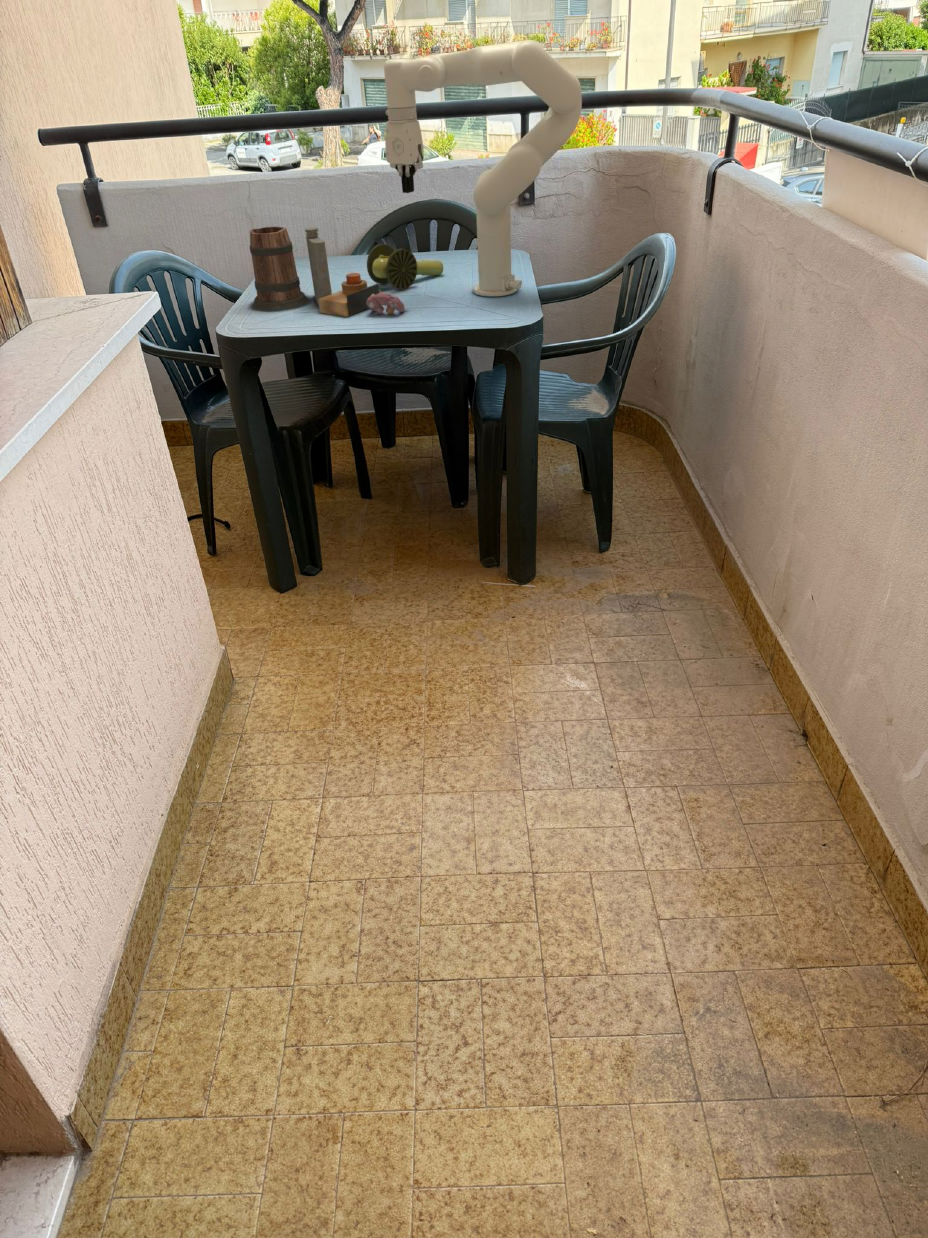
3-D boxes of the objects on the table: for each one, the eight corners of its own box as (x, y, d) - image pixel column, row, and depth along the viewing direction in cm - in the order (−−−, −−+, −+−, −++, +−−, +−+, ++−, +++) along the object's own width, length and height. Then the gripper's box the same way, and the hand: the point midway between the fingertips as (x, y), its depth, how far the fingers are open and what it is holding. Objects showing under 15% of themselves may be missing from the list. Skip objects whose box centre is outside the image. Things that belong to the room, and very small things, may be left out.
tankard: (304, 309, 239) (292, 233, 227) (245, 312, 239) (231, 237, 228) (316, 287, 258) (306, 217, 246) (262, 290, 258) (249, 220, 247)
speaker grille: (380, 302, 239) (378, 283, 236) (350, 314, 231) (347, 295, 228) (379, 302, 240) (377, 283, 237) (348, 314, 231) (346, 294, 228)
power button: (364, 282, 238) (363, 273, 236) (354, 286, 235) (353, 276, 234) (353, 281, 240) (352, 272, 238) (344, 284, 237) (343, 275, 236)
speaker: (381, 303, 241) (379, 281, 237) (346, 316, 231) (343, 294, 227) (355, 298, 245) (352, 277, 242) (320, 312, 236) (316, 290, 232)
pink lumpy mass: (369, 319, 233) (362, 299, 227) (374, 307, 235) (367, 287, 229) (402, 320, 231) (396, 300, 225) (406, 308, 233) (400, 288, 227)
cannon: (429, 271, 268) (426, 233, 261) (452, 277, 260) (450, 238, 254) (364, 287, 255) (360, 247, 249) (387, 294, 248) (383, 253, 241)
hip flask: (334, 307, 239) (324, 231, 227) (320, 309, 238) (309, 233, 226) (325, 294, 251) (314, 221, 240) (311, 295, 251) (300, 223, 239)
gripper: (371, 116, 222) (379, 192, 233) (415, 116, 214) (421, 195, 225) (389, 112, 227) (396, 188, 237) (433, 113, 219) (438, 191, 230)
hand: (408, 191), depth 231 cm, fingers closed
